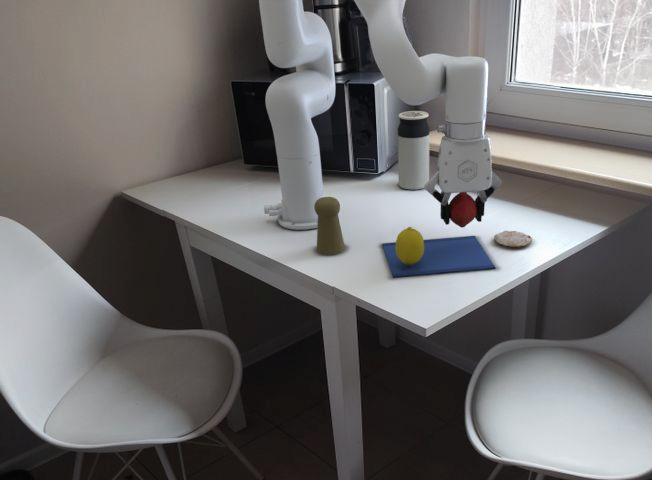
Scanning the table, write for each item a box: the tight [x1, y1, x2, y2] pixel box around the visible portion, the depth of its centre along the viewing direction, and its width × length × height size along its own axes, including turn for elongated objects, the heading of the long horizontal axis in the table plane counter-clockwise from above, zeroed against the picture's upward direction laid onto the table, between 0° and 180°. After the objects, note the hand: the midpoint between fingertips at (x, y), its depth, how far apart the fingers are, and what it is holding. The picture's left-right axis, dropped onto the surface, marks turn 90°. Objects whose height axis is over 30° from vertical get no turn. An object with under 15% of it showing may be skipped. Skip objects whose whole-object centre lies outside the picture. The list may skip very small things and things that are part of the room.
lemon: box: [395, 226, 424, 266], centre depth 119 cm, size 6×6×8 cm
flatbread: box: [493, 230, 533, 248], centre depth 130 cm, size 8×8×1 cm
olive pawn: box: [314, 196, 346, 256], centre depth 128 cm, size 6×6×11 cm
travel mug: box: [397, 110, 430, 191], centre depth 158 cm, size 8×8×18 cm
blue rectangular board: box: [382, 235, 496, 279], centre depth 125 cm, size 20×16×1 cm
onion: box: [448, 192, 477, 228], centre depth 125 cm, size 6×6×8 cm
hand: (462, 220), depth 126 cm, fingers closed on onion, 5 cm apart
